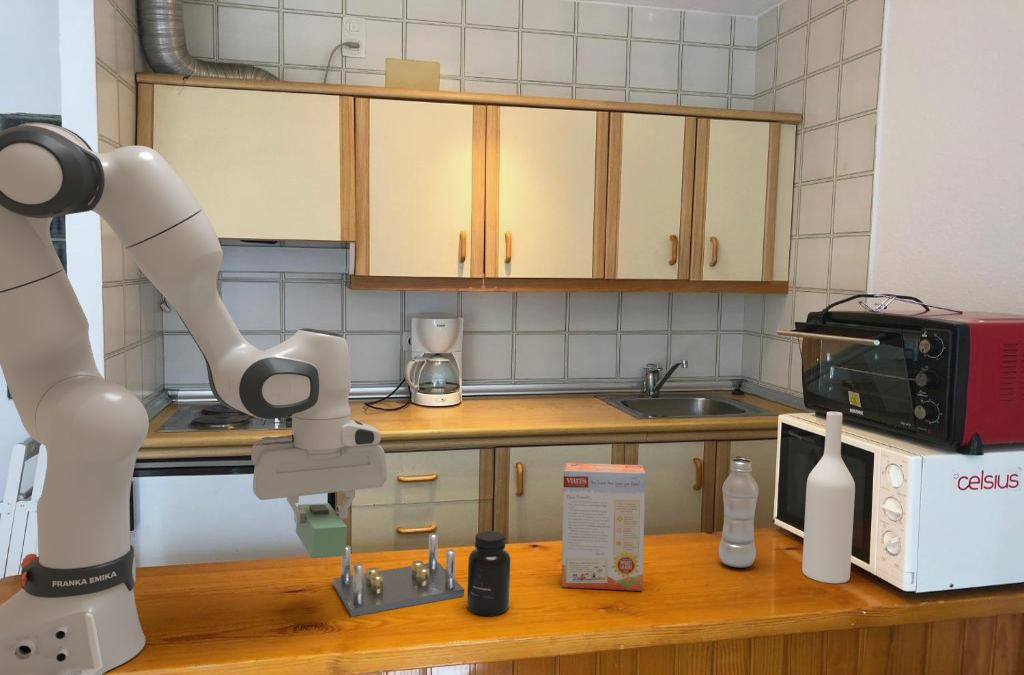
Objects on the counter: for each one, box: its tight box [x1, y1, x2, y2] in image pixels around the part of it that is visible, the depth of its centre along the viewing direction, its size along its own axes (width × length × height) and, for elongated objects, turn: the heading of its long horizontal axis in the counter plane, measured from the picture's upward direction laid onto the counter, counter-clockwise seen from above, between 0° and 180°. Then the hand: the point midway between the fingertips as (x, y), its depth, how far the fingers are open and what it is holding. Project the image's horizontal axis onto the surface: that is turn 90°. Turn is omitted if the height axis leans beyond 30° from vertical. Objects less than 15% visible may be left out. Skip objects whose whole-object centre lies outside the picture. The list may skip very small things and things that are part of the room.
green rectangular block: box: [295, 502, 348, 559], centre depth 117 cm, size 12×5×5 cm, turn 27°
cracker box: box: [561, 462, 646, 592], centre depth 131 cm, size 14×6×21 cm, turn 84°
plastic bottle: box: [718, 457, 760, 569], centre depth 140 cm, size 6×7×20 cm
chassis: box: [332, 532, 465, 617], centre depth 127 cm, size 19×13×7 cm
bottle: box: [801, 411, 856, 584], centre depth 136 cm, size 8×8×30 cm
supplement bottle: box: [466, 530, 512, 616], centre depth 121 cm, size 7×7×12 cm
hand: (321, 520), depth 118 cm, fingers closed on green rectangular block, 5 cm apart
